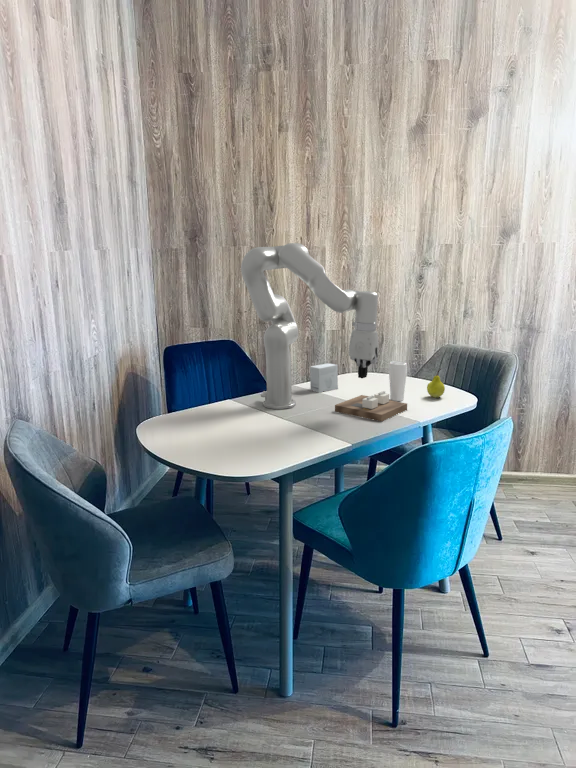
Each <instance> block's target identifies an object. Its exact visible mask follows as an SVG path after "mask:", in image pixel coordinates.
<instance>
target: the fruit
mask: <svg viewBox="0 0 576 768" xmlns="http://www.w3.org/2000/svg"><path fill="white" fill-rule="evenodd" d="M441 370H442V368H440V369H438V370H437V373H436V375H434V376H433V378H432V380H431V381H430V382H429V383H428V384H427V385H426V390H427V391H426V392H427V393H428V395H429V396H431V397H432V398H436V399H437V398H440V397H442V395H444V393H445V391H446V390H445V389H446V387H445V385H444V383H443V381H441V377H440V376H439V375H438V374H439V372H440V371H441Z"/></svg>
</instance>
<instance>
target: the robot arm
mask: <svg viewBox="0 0 576 768" xmlns="http://www.w3.org/2000/svg"><path fill="white" fill-rule="evenodd" d="M278 269H279V270H280V269H281V270H282V269H287V270H289V271H290V272H291V273H293V274H294V275H295V276H296V277H297V278H298V279H300V280H301V281H302V282H303V283H304V284H306V285H307V287H309V289H310V291H312V292H313V295H315V297H317V298H318V299H319V301H321V302H322V303H323V304H324V305H326V306H327V307H328V308H329V309H331V310H332V311H334V312H335V313H339V314H343V313H347V312H350V311H355V312H354V314H355V315H354V321H353V322H352V323H351V325H352V326H353V327H354V329H352V331H351V333H350V338H349V343H348V344H349V345H348V356H349V358H350V360H352V361H354V362H355V364H356V366H357V375H358V378H359V379H365V378H367V377H368V370H369V369H368V367H370V366H371V365H373V364H377V363H378V357H379V347H380V346H379V335H378V333H379V332H378V331H377V321H378V320H377V319H378V317H377V315H378V305H379V304H378V302H379V295H378V293H377V292H375V291H367V290H366V291H365V290H363V291H359V290H355V289H343V290H342V289H341V288H340V287H338V285H336V284H335V283H334V282H333V281H332V280H330V278H329V277H328V276H327V273H326V269H325V267H324V265H322V264H321V263H320V262H318V261H317V260H316V259H315V258H313V256H311V255H310V253H309V250H308V248H307V247H306V246H305V245H304V244H302V243H298V242H294V243H293V242H291V243H286V244H285V245H276V246H258V247H254V248H253V247H252V248H251V249H250V250H248V251H247V252H246V254H245V255H244V256H243V259H242V260H241V266H240V272H241V277H242V279H243V282H244V285H245V287H246V288H247V289H246V290H247V291H248V295H249V297H250V300H251V302H252V305H253V307H254V310H255V312H256V315H257V317H258V318H259V320H261V321H263V322H271V325H269V326H268V327H267V328H266V330H265V331H264V334H263V345H264V351H265V366H266V367H265V368H266V370H265V372H266V391H265V390H263V391H262V392H261V394H260V397H262V398H264V400H263V402H262V406H264V408H267V409H273V410H285V409H291V408H293V407H295V406H296V400H295V399H292V396H293V395H292V394H293V393H292V355H291V349H290V345H292V344H294V343H296V341H297V340H298V338H299V328H298V324H297V321H296V320H295V316H294V314H293V311H292V309H291V307H290V304H289V303H288V301H287V299H286V298H285V297H284V296H283V295H280V294H277V293H274V291H273V288H272V287H271V283H270V281H269V280H268V278H267V276H266V275H265V273H264V272H265V271H271V270H278Z"/></svg>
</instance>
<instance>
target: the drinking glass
mask: <svg viewBox="0 0 576 768" xmlns="http://www.w3.org/2000/svg"><path fill="white" fill-rule="evenodd" d="M388 372H389V373H388V375H389V376H388V378H389V379H388V380H389V400H391V401H396V402H402V401H404V399H405V392H406V391H405V389H406V383H407V374H408V373H407V372H408V364H407V362H406V361H400V360H394V361H390V362H389V366H388Z"/></svg>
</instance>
